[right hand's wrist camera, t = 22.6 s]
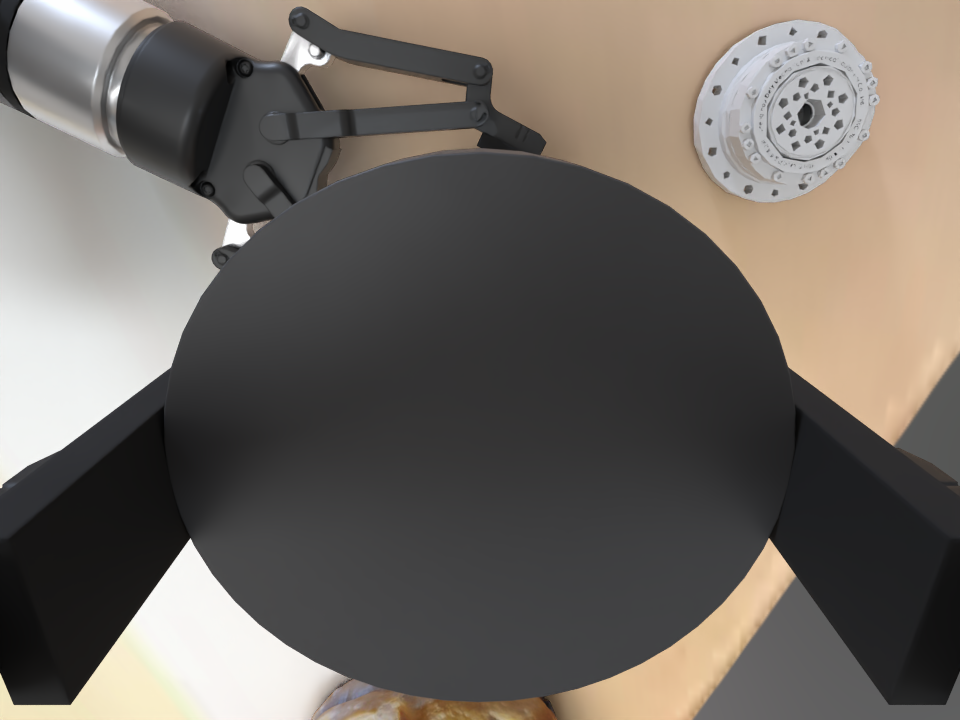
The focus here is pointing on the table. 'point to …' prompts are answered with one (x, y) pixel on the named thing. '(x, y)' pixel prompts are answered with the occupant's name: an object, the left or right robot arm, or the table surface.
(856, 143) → the mechanical component
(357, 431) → the lid
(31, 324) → the table surface
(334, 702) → the bread
